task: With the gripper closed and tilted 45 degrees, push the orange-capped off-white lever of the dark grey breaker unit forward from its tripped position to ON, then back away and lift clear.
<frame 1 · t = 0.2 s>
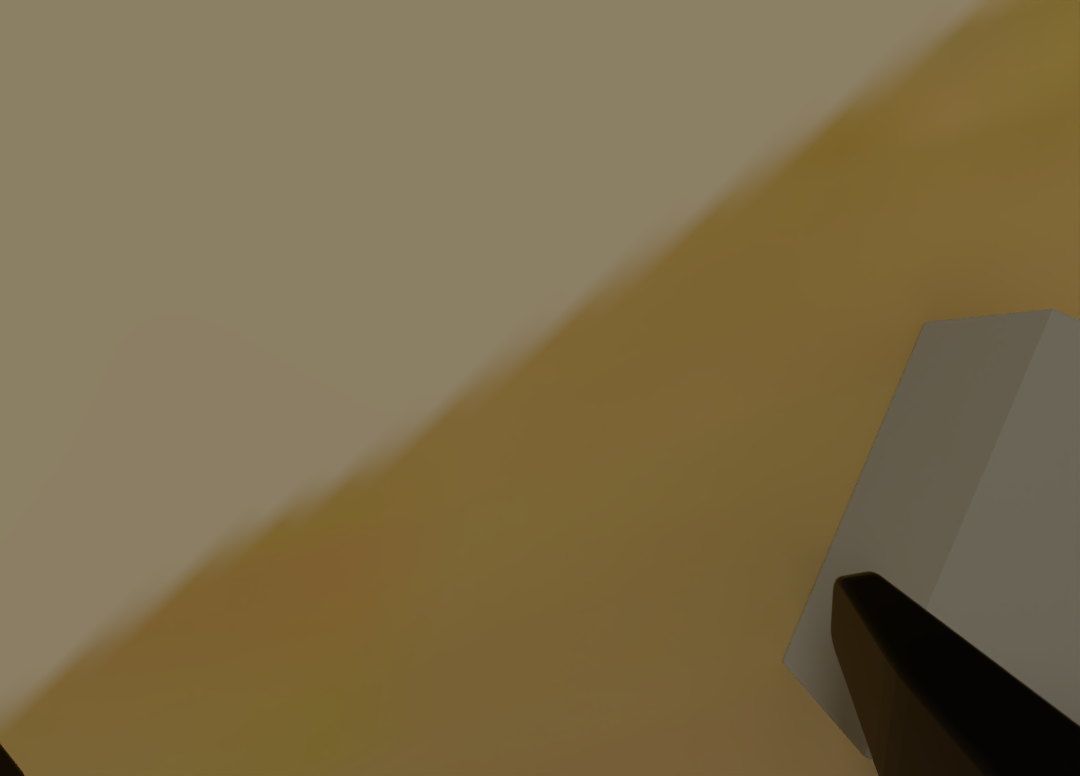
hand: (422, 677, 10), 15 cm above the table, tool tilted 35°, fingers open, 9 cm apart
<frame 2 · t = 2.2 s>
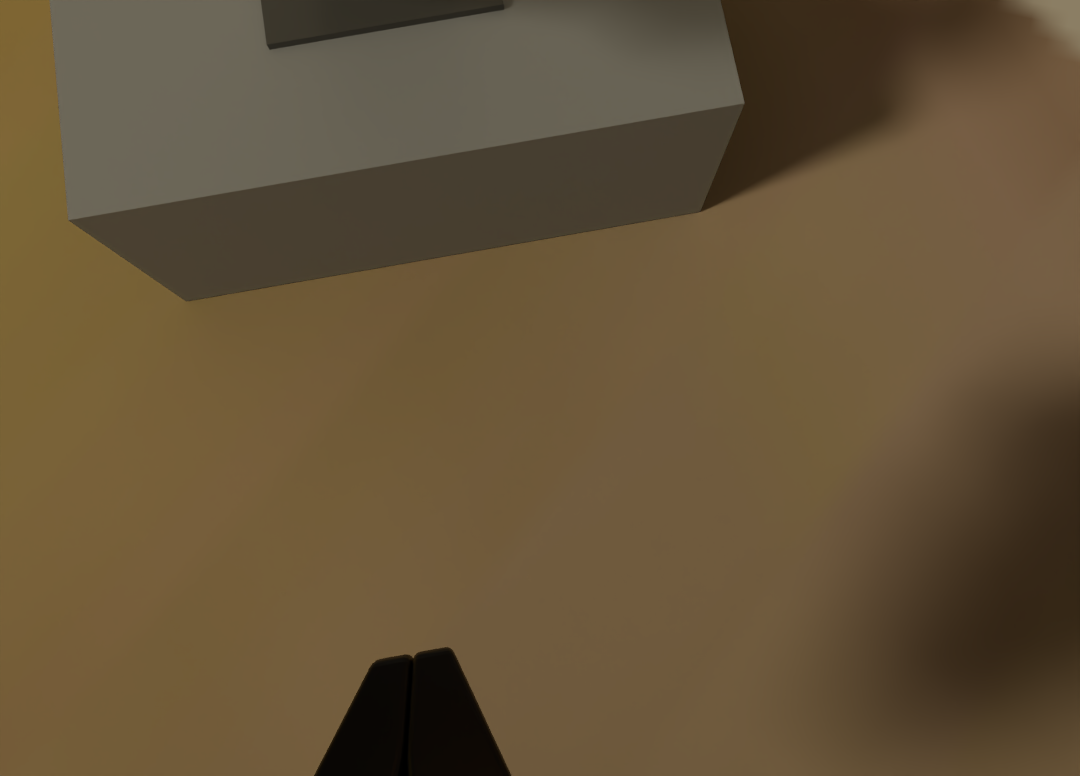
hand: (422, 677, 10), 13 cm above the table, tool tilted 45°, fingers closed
breaker unit: (416, 87, 26), on the table
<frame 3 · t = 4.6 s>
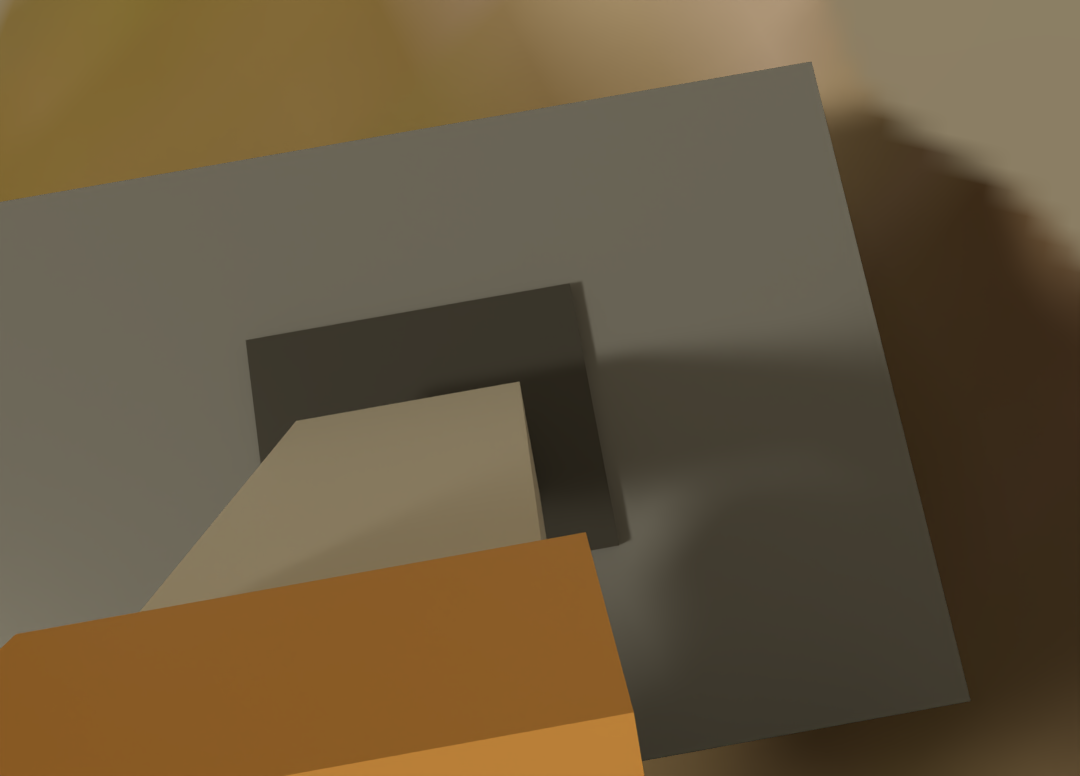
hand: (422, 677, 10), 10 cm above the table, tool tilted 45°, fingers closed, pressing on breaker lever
breaker lever: (383, 598, 8), point 11 cm above the table, hinge at -23.1°, touching gripper
breaker unit: (468, 474, 20), on the table
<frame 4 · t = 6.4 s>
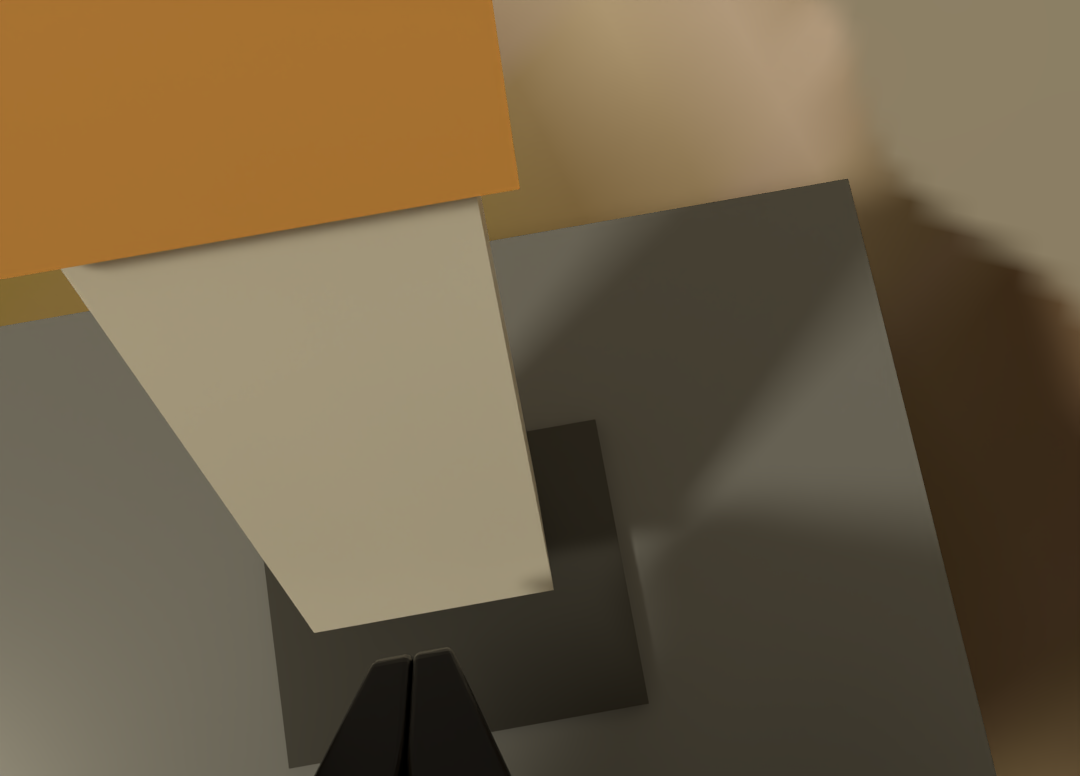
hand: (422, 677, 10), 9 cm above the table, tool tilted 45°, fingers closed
breaker lever: (341, 333, 9), point 11 cm above the table, hinge at 29.3°
breaker unit: (482, 575, 19), on the table
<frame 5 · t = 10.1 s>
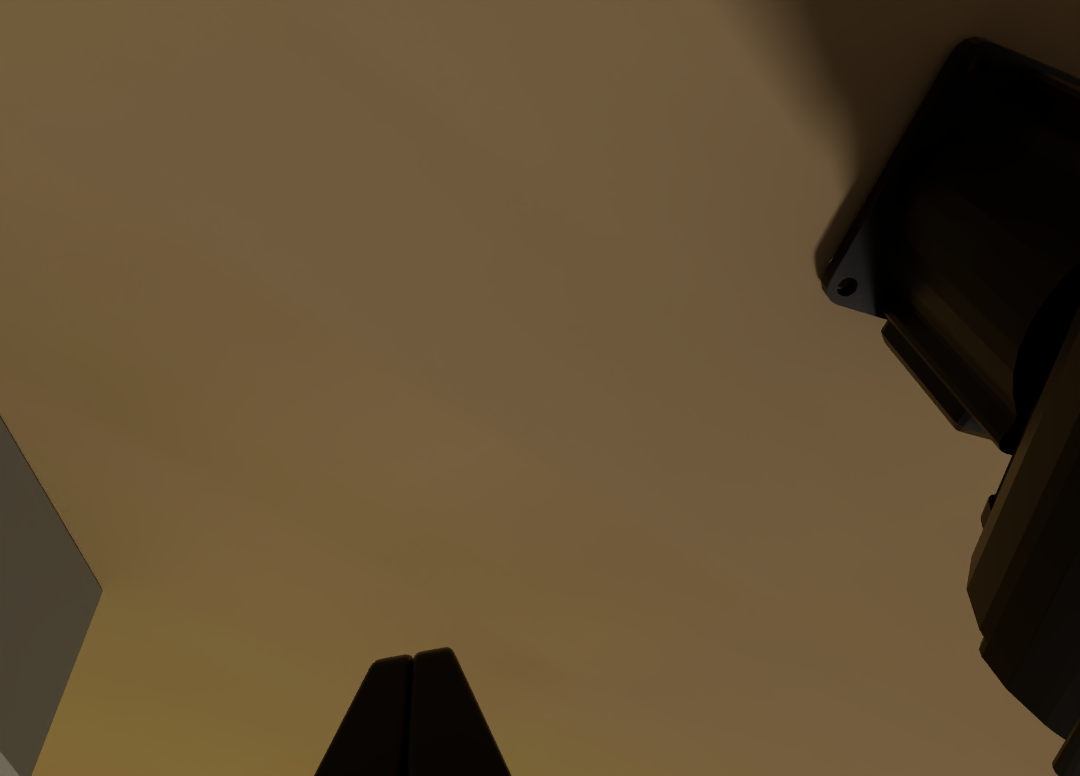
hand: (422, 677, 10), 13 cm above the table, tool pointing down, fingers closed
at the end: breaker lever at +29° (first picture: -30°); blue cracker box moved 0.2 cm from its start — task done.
